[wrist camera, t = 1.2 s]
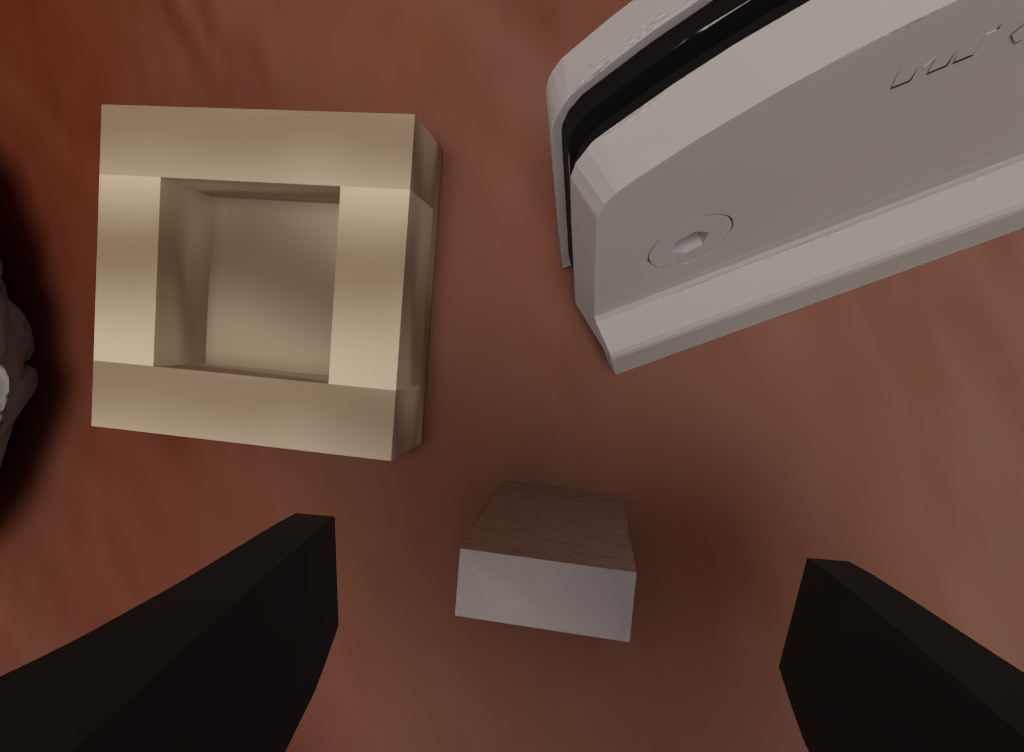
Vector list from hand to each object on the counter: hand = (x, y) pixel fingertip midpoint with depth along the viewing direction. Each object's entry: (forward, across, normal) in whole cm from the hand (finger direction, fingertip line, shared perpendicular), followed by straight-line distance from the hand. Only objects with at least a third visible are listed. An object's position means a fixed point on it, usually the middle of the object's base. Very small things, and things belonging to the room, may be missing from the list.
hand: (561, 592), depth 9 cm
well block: (+12, +9, -2) cm, 16 cm away
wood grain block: (+9, -1, +6) cm, 11 cm away
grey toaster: (+12, -8, -7) cm, 16 cm away
